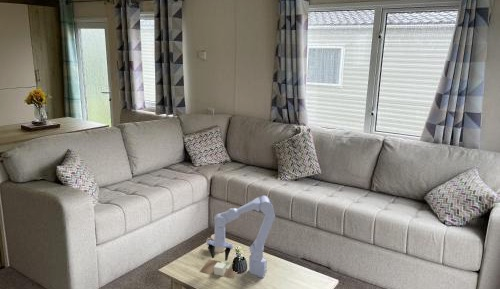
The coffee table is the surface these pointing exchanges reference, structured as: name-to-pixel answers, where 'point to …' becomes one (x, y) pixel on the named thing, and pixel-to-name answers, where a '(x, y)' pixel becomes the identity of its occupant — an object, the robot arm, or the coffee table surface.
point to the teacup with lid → (217, 249)
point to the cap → (219, 269)
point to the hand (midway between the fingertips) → (219, 258)
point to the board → (209, 269)
